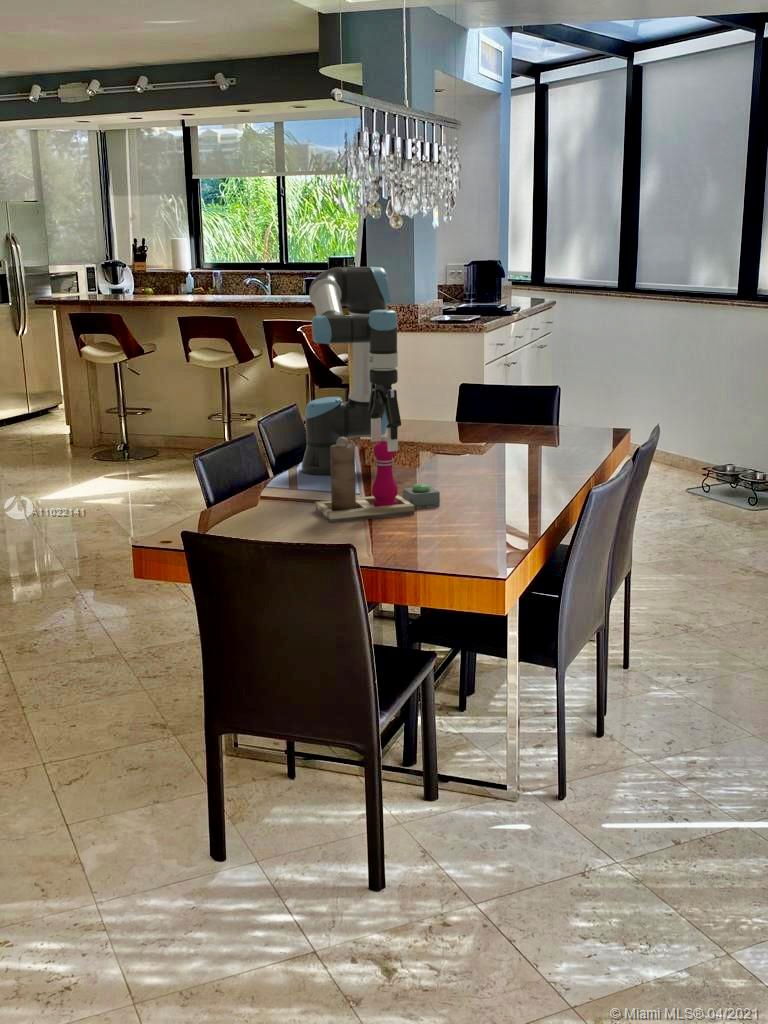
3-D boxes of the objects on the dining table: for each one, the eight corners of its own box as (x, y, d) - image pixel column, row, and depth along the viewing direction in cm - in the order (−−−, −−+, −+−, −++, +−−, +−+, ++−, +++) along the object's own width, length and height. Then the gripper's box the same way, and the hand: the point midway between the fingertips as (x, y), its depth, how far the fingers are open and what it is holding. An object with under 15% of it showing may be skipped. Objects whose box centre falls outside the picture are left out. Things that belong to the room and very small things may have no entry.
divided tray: (315, 510, 296) (315, 501, 295) (396, 502, 304) (396, 493, 303) (330, 522, 283) (330, 513, 283) (414, 514, 291) (414, 505, 290)
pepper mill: (383, 502, 300) (382, 432, 295) (403, 506, 296) (402, 435, 290) (366, 507, 295) (365, 436, 290) (386, 511, 290) (386, 439, 285)
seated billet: (328, 509, 293) (326, 435, 288) (351, 506, 295) (350, 434, 290) (335, 514, 287) (334, 440, 282) (358, 512, 289) (357, 438, 284)
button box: (403, 501, 304) (403, 488, 303) (429, 499, 307) (429, 485, 306) (413, 508, 297) (413, 494, 296) (439, 505, 300) (439, 491, 299)
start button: (410, 498, 303) (410, 484, 302) (425, 496, 305) (425, 483, 304) (416, 502, 299) (416, 488, 298) (432, 500, 300) (432, 486, 299)
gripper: (355, 363, 295) (357, 438, 301) (386, 375, 273) (386, 456, 278) (381, 362, 298) (381, 436, 303) (413, 373, 275) (413, 454, 281)
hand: (384, 446), depth 291 cm, fingers open, 13 cm apart
